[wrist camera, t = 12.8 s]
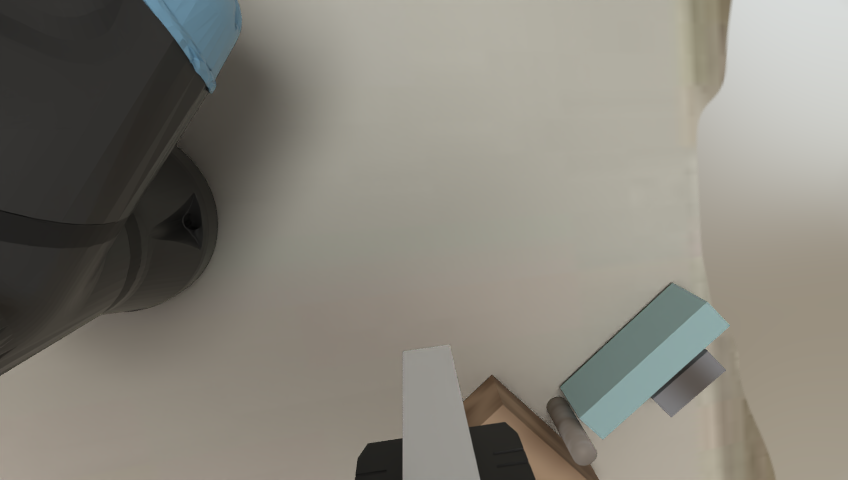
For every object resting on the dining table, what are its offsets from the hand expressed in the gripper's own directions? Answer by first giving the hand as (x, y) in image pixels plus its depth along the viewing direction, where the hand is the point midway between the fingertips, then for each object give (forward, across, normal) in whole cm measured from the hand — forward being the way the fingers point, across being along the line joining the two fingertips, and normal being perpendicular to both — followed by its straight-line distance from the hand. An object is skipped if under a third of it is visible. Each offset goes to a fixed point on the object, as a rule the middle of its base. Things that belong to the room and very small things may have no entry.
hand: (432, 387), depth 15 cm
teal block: (+26, +18, -14) cm, 35 cm away
